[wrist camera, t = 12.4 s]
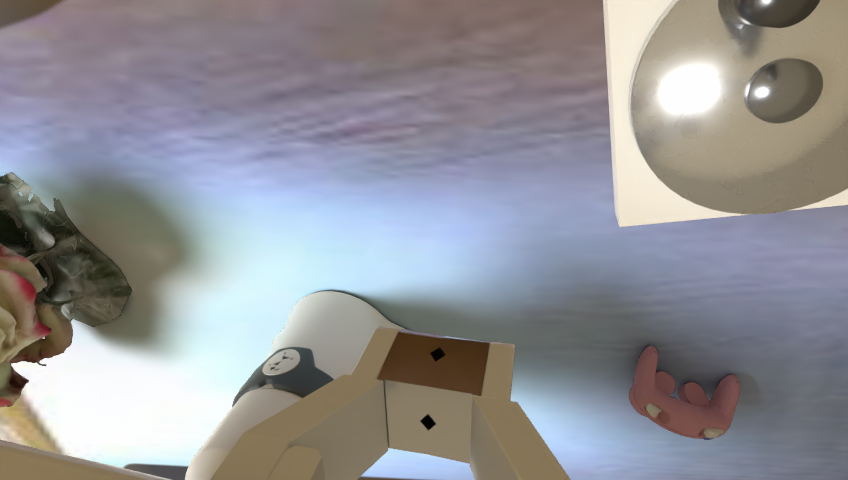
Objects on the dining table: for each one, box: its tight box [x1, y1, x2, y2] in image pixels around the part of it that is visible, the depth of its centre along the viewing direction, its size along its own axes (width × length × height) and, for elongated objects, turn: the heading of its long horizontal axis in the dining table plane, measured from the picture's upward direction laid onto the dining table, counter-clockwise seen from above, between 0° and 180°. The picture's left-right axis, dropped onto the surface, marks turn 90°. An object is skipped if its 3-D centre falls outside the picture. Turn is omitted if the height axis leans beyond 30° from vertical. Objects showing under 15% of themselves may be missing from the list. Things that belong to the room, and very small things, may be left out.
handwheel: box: [628, 0, 848, 214], centre depth 29 cm, size 18×18×8 cm
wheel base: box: [603, 0, 848, 227], centre depth 34 cm, size 20×20×3 cm
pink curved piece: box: [629, 346, 740, 440], centre depth 46 cm, size 10×5×7 cm, turn 74°
